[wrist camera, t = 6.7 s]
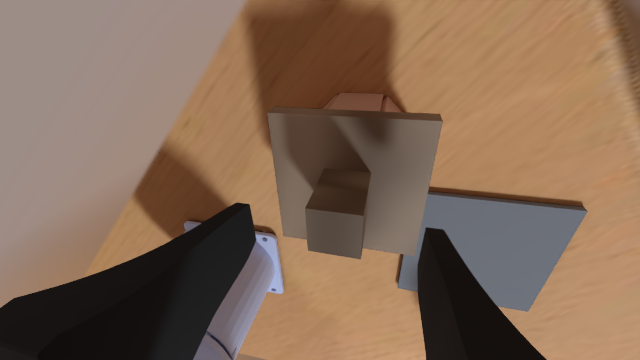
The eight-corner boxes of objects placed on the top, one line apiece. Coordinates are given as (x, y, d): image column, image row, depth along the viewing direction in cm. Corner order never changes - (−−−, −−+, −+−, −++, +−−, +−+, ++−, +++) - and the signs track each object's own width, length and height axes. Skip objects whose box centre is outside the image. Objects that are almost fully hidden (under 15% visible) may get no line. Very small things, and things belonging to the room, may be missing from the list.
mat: (397, 284, 24) (397, 288, 24) (414, 189, 19) (414, 192, 19) (526, 307, 22) (528, 311, 22) (584, 207, 17) (587, 211, 17)
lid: (288, 225, 18) (260, 280, 15) (275, 106, 14) (230, 140, 10) (414, 244, 17) (417, 311, 13) (439, 113, 12) (456, 157, 9)
